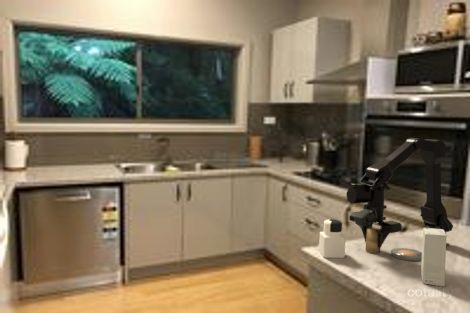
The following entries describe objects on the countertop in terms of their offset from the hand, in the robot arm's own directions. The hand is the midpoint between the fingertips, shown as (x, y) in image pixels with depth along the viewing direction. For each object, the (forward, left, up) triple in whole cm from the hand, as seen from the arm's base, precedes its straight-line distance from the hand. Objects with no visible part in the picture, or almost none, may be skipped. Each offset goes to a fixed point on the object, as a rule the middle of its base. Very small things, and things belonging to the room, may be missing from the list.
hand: (373, 245), depth 144 cm
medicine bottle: (+16, -4, -2) cm, 17 cm away
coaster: (-7, +9, -2) cm, 12 cm away
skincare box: (+5, +26, -2) cm, 27 cm away
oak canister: (0, 0, -2) cm, 2 cm away
